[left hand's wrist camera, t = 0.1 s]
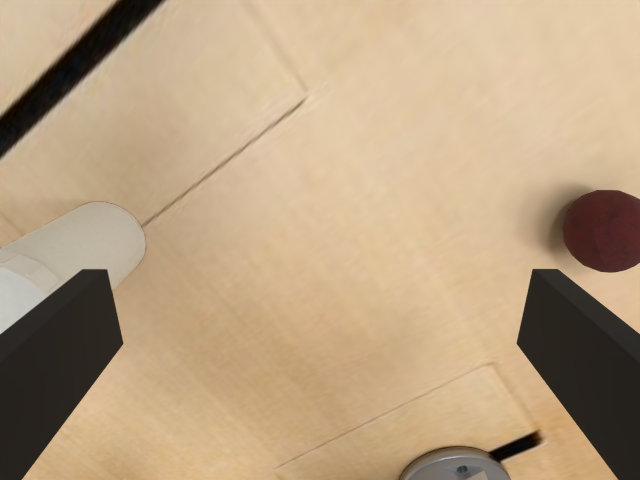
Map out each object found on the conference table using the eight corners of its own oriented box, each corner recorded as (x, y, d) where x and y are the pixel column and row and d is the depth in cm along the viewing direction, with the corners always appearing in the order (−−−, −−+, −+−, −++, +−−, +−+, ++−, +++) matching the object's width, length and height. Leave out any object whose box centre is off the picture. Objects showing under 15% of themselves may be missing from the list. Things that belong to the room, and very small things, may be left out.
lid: (105, 322, 30) (91, 338, 28) (21, 378, 32) (2, 396, 30) (7, 225, 27) (-16, 236, 25) (-79, 292, 29) (-107, 307, 27)
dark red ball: (564, 265, 43) (608, 298, 36) (535, 206, 40) (577, 231, 34) (632, 228, 41) (691, 257, 35) (607, 166, 39) (665, 183, 32)
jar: (162, 248, 42) (83, 332, 28) (106, 286, 44) (6, 384, 30) (106, 186, 40) (-10, 243, 26) (50, 229, 42) (-89, 305, 27)
